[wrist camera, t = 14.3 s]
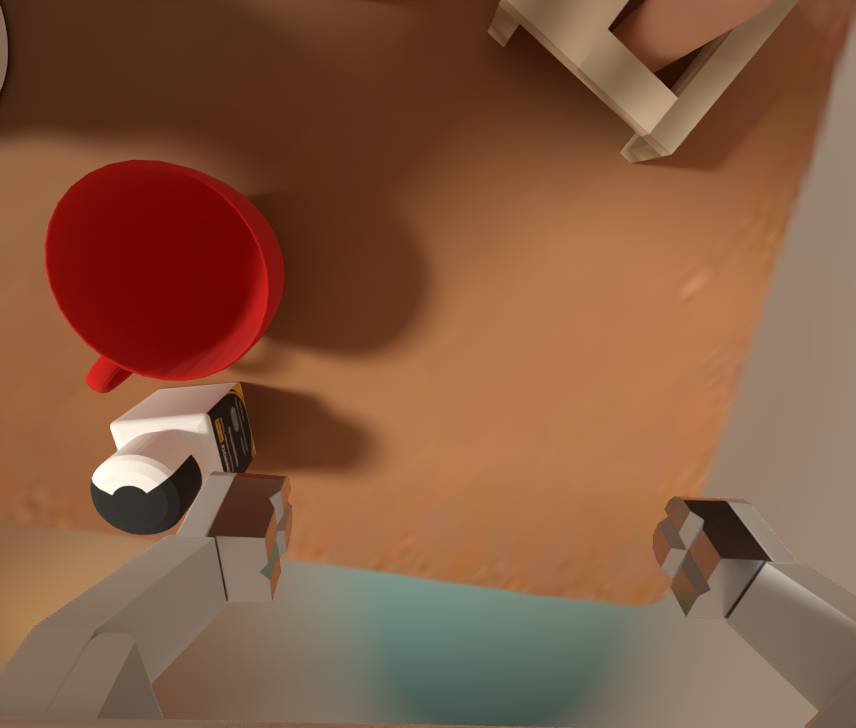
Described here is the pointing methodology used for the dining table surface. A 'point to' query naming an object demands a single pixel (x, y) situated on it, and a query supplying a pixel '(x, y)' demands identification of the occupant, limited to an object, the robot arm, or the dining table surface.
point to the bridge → (637, 65)
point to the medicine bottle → (171, 455)
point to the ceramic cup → (162, 271)
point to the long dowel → (680, 27)
